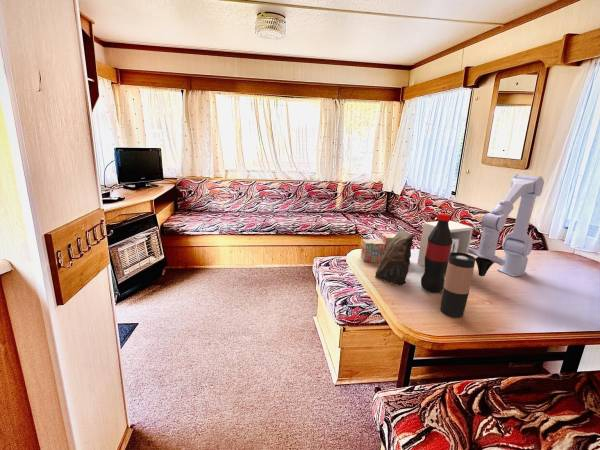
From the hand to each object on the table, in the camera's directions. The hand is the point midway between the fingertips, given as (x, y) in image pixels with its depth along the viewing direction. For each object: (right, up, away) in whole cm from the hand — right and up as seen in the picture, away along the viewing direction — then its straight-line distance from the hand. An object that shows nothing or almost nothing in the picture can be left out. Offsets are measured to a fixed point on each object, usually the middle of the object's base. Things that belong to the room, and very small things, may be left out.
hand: (481, 275), depth 129 cm
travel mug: (-23, -9, -22) cm, 33 cm away
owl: (-36, -1, +3) cm, 36 cm away
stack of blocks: (-34, +4, +22) cm, 40 cm away
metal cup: (-7, +1, +16) cm, 17 cm away
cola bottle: (-23, -5, -6) cm, 24 cm away
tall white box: (-9, +2, +18) cm, 20 cm away
